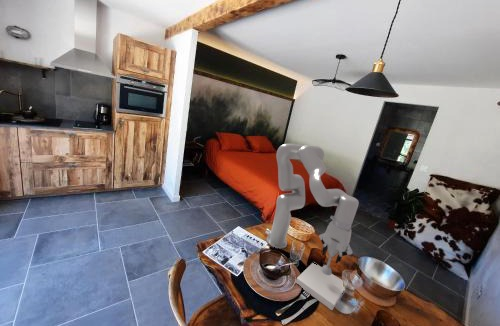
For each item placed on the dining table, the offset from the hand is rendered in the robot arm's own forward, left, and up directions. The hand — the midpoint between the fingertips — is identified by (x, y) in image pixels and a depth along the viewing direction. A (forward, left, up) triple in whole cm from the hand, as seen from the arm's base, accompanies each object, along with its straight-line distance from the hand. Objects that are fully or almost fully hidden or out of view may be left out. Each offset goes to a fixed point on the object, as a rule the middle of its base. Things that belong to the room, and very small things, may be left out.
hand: (330, 257), depth 100 cm
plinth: (0, 0, -16) cm, 16 cm away
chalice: (0, 0, -8) cm, 8 cm away
